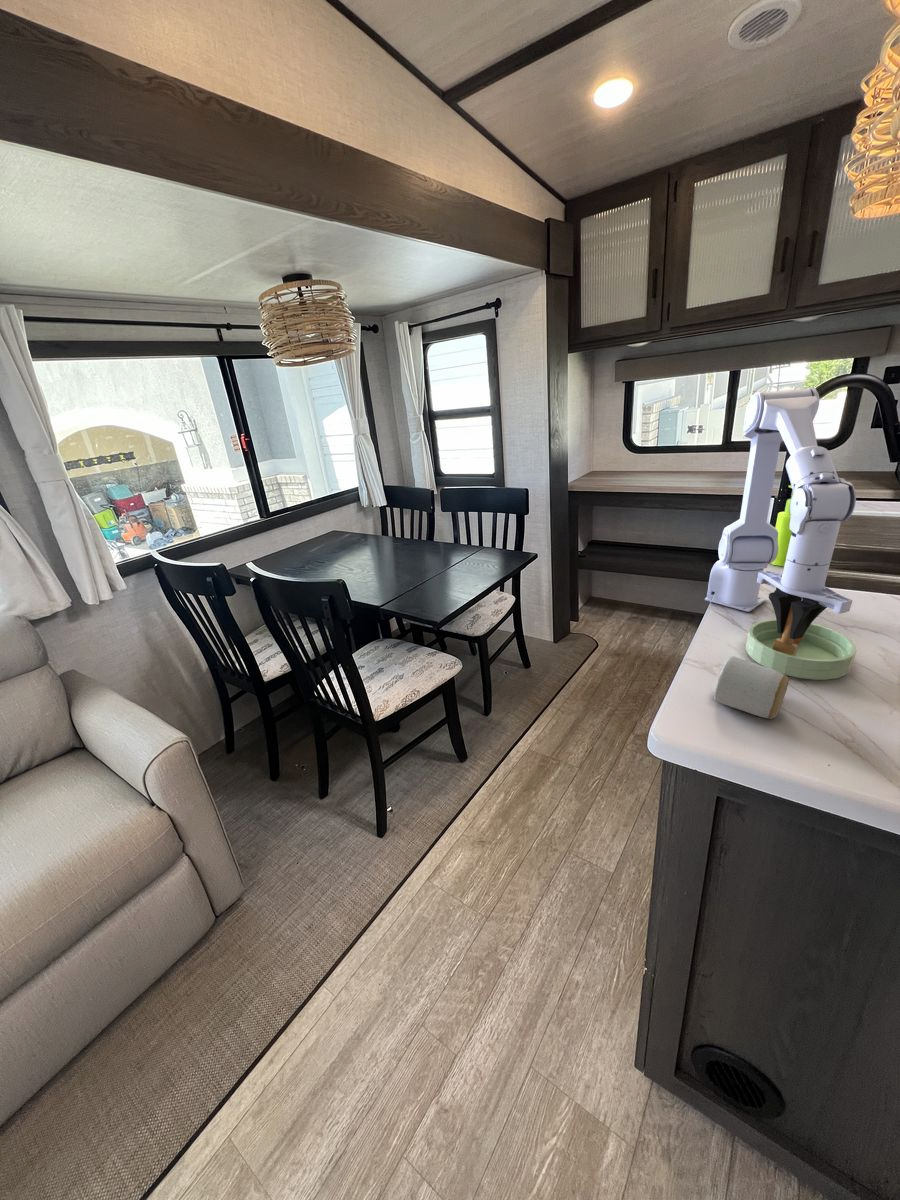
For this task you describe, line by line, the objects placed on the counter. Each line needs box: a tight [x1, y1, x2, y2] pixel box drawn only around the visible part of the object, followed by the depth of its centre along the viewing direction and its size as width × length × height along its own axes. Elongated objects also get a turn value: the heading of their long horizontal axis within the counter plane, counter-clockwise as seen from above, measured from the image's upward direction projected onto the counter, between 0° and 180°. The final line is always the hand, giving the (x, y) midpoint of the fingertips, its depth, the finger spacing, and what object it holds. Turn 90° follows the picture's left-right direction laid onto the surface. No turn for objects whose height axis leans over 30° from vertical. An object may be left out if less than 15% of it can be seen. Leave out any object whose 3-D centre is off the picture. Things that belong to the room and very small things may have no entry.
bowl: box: [745, 618, 857, 681], centre depth 82 cm, size 15×15×4 cm
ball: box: [793, 637, 803, 644], centre depth 86 cm, size 3×3×3 cm
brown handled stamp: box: [773, 606, 798, 656], centre depth 80 cm, size 3×2×10 cm, turn 32°
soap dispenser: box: [771, 484, 794, 567], centre depth 120 cm, size 6×7×20 cm
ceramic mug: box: [713, 655, 790, 720], centre depth 71 cm, size 11×8×8 cm
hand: (789, 634), depth 80 cm, fingers closed on brown handled stamp, 2 cm apart
